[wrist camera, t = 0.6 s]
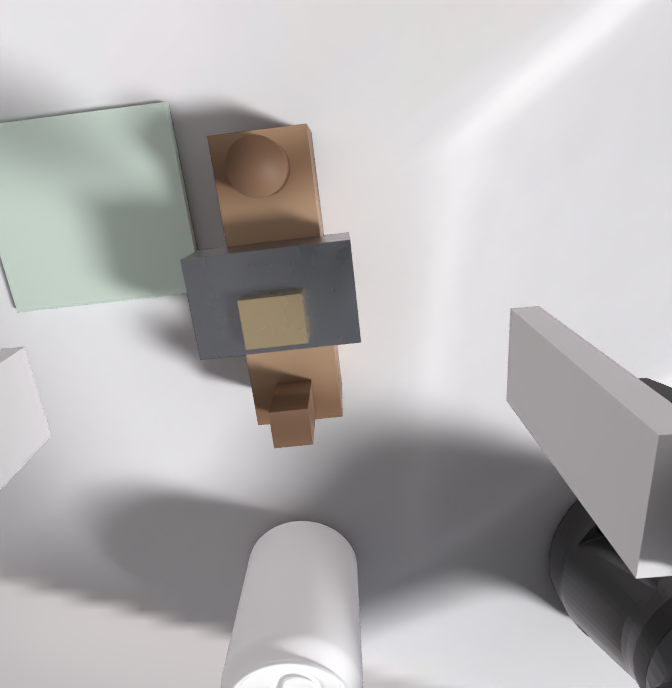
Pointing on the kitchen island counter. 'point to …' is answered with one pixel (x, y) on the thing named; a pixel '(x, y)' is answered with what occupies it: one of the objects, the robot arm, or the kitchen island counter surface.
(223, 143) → the hand plane
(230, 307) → the dark grey rectangular block
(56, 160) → the mat
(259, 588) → the beverage can
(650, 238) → the kitchen island counter surface
